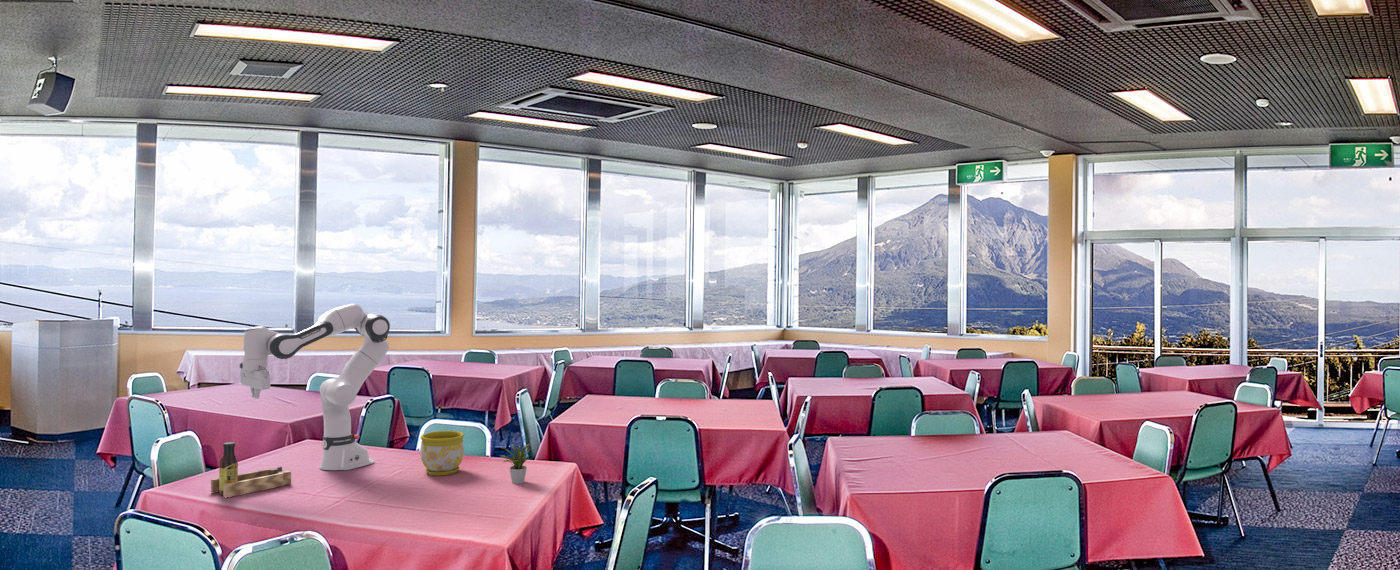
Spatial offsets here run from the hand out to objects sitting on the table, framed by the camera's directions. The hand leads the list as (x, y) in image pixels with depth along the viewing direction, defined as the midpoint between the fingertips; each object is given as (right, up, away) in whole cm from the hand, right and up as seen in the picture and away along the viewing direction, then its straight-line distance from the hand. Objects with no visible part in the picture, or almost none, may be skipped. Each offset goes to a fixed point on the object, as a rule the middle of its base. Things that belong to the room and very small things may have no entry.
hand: (255, 398), depth 333 cm
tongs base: (+5, -34, -12) cm, 37 cm away
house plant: (+110, -36, +2) cm, 116 cm away
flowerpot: (+73, -35, +15) cm, 83 cm away
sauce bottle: (+1, -35, -20) cm, 40 cm away
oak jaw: (+10, -34, -16) cm, 39 cm away
